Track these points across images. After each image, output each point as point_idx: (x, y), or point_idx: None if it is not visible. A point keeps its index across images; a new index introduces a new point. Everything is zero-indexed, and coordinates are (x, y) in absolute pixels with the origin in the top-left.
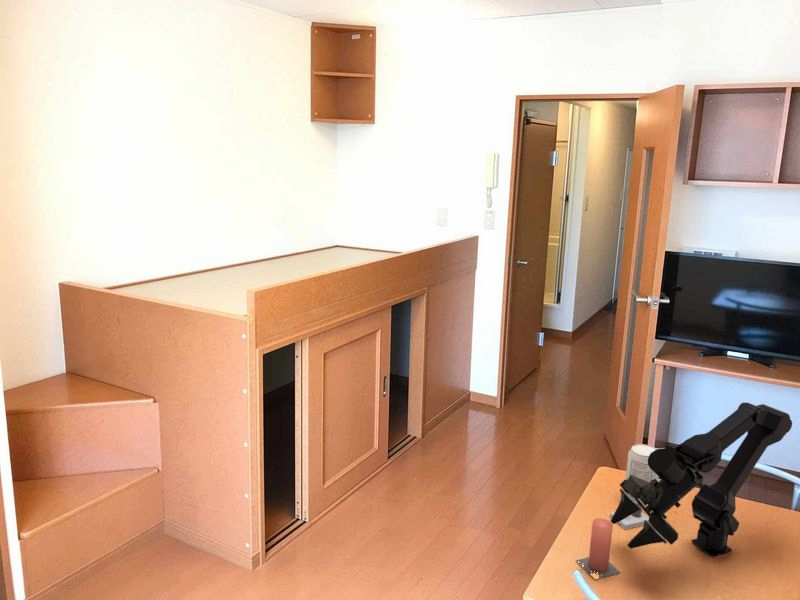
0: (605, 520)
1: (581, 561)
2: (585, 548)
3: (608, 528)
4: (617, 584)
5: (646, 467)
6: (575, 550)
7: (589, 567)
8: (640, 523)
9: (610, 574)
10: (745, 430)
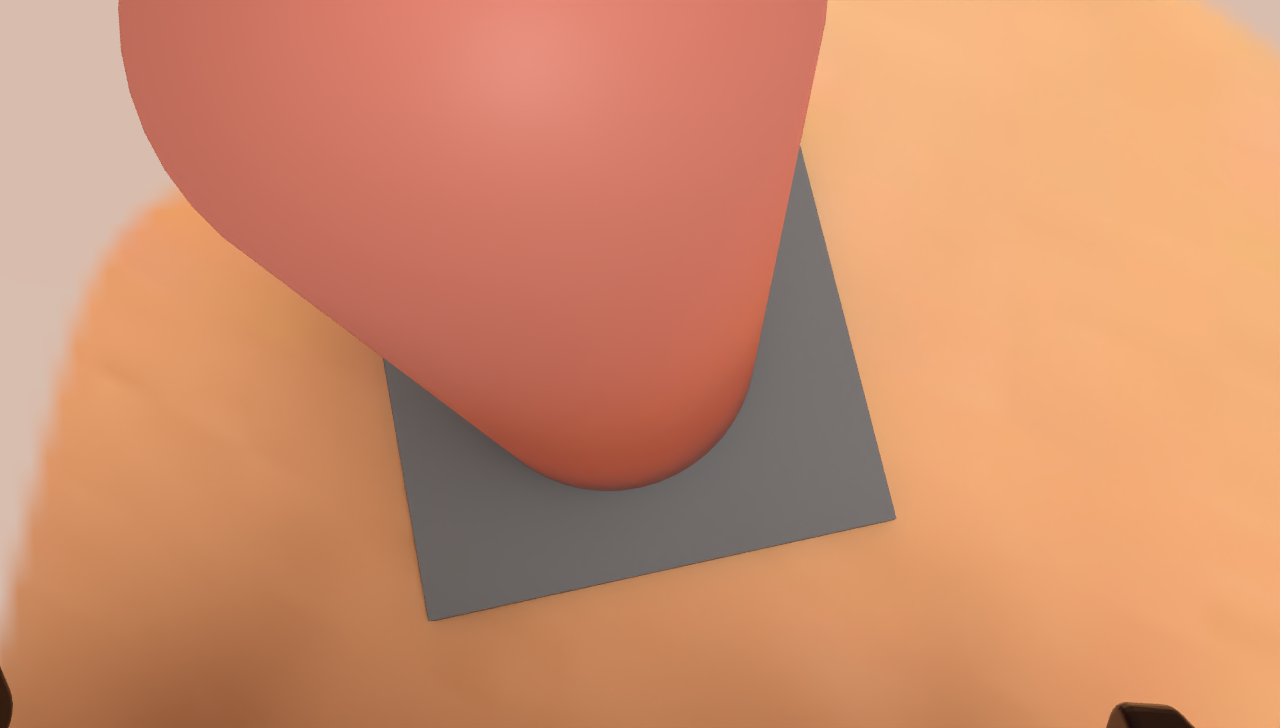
0: (672, 171)
1: None
2: (1084, 354)
3: (166, 56)
4: (222, 463)
5: None
6: (1044, 183)
7: None
8: None
9: (405, 443)
10: None
